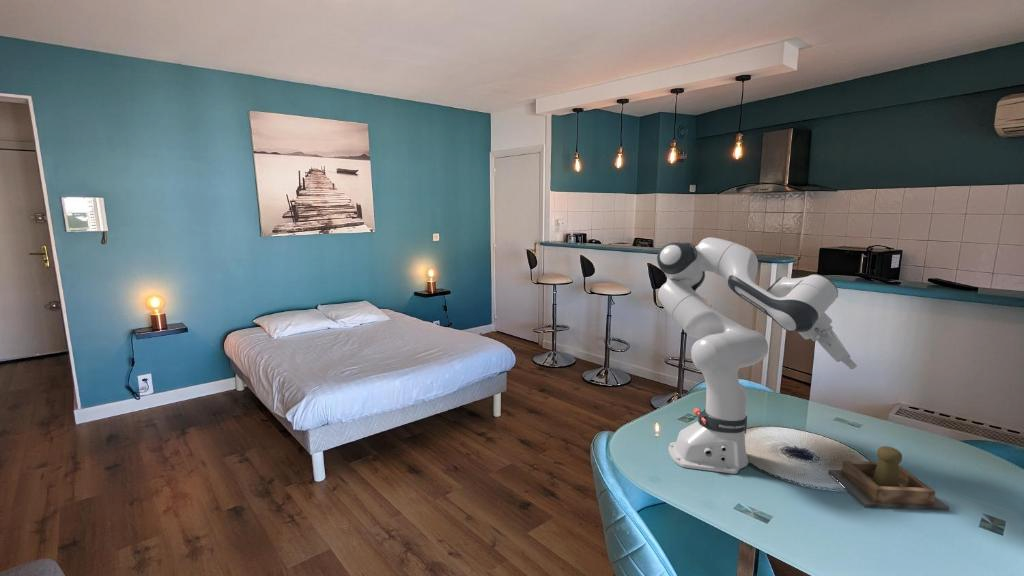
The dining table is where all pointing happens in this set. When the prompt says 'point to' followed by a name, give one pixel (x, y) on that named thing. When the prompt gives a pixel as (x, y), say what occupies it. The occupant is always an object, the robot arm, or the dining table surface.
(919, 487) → the collar
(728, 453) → the robot arm
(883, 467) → the cork
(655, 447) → the dining table surface
